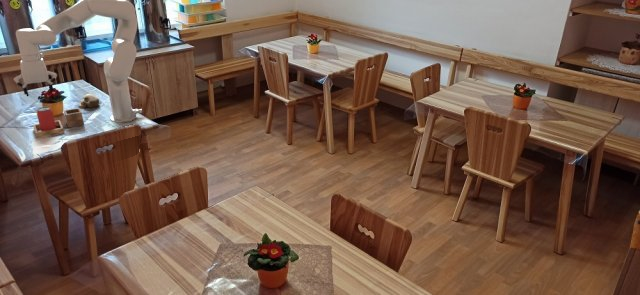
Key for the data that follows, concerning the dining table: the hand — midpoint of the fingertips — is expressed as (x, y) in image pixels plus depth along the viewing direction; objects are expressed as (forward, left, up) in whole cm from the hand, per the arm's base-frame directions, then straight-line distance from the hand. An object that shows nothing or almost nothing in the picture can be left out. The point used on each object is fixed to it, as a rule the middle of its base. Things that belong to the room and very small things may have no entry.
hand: (39, 93), depth 222 cm
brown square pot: (-12, -4, -19) cm, 23 cm away
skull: (-23, -26, -20) cm, 40 cm away
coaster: (-11, +6, -19) cm, 23 cm away
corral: (0, 0, -19) cm, 19 cm away
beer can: (0, 0, -20) cm, 20 cm away
